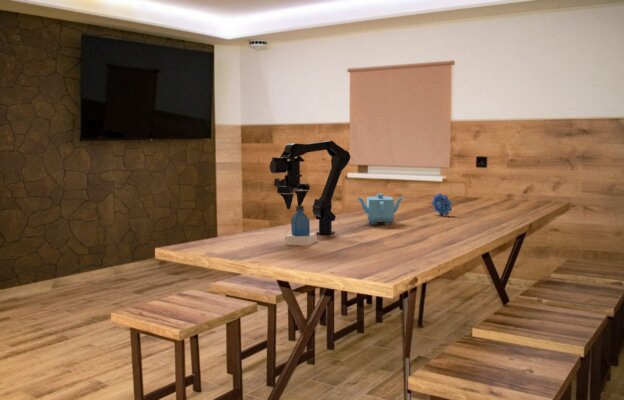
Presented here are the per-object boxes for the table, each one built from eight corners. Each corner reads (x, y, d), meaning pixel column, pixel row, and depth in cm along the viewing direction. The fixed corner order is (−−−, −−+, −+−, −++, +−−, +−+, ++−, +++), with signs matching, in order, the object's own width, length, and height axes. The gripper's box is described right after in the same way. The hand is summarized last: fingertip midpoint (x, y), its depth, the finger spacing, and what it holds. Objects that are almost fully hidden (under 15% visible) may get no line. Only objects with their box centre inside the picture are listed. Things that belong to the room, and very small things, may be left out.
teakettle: (382, 227, 287) (383, 196, 285) (353, 223, 300) (353, 194, 298) (406, 222, 300) (407, 193, 298) (377, 219, 313) (377, 191, 311)
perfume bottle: (295, 236, 245) (294, 207, 244) (291, 234, 251) (290, 205, 249) (309, 235, 247) (309, 206, 245) (305, 233, 252) (305, 205, 251)
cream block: (294, 241, 256) (294, 232, 255) (316, 242, 252) (316, 233, 252) (285, 245, 247) (285, 236, 246) (307, 247, 243) (307, 237, 243)
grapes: (428, 215, 324) (428, 193, 323) (433, 213, 329) (434, 192, 328) (448, 217, 317) (448, 194, 315) (453, 215, 322) (453, 193, 321)
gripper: (288, 170, 271) (289, 204, 273) (266, 173, 255) (266, 209, 257) (310, 171, 266) (310, 205, 267) (288, 174, 249) (288, 211, 251)
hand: (294, 207), depth 261 cm, fingers open, 9 cm apart
